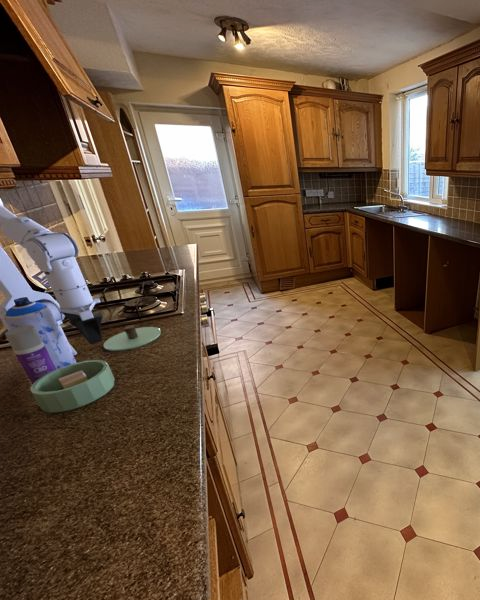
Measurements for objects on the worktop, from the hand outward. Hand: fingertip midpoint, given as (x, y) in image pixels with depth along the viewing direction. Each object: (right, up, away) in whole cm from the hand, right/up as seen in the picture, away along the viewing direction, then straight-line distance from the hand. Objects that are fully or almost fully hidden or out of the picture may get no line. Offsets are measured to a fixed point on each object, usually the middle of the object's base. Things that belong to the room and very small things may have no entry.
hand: (92, 338), depth 80 cm
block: (+3, -12, -6) cm, 13 cm away
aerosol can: (-12, -9, +3) cm, 15 cm away
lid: (-3, -2, +16) cm, 17 cm away
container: (-7, -11, -3) cm, 14 cm away
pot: (+3, -12, -6) cm, 14 cm away
